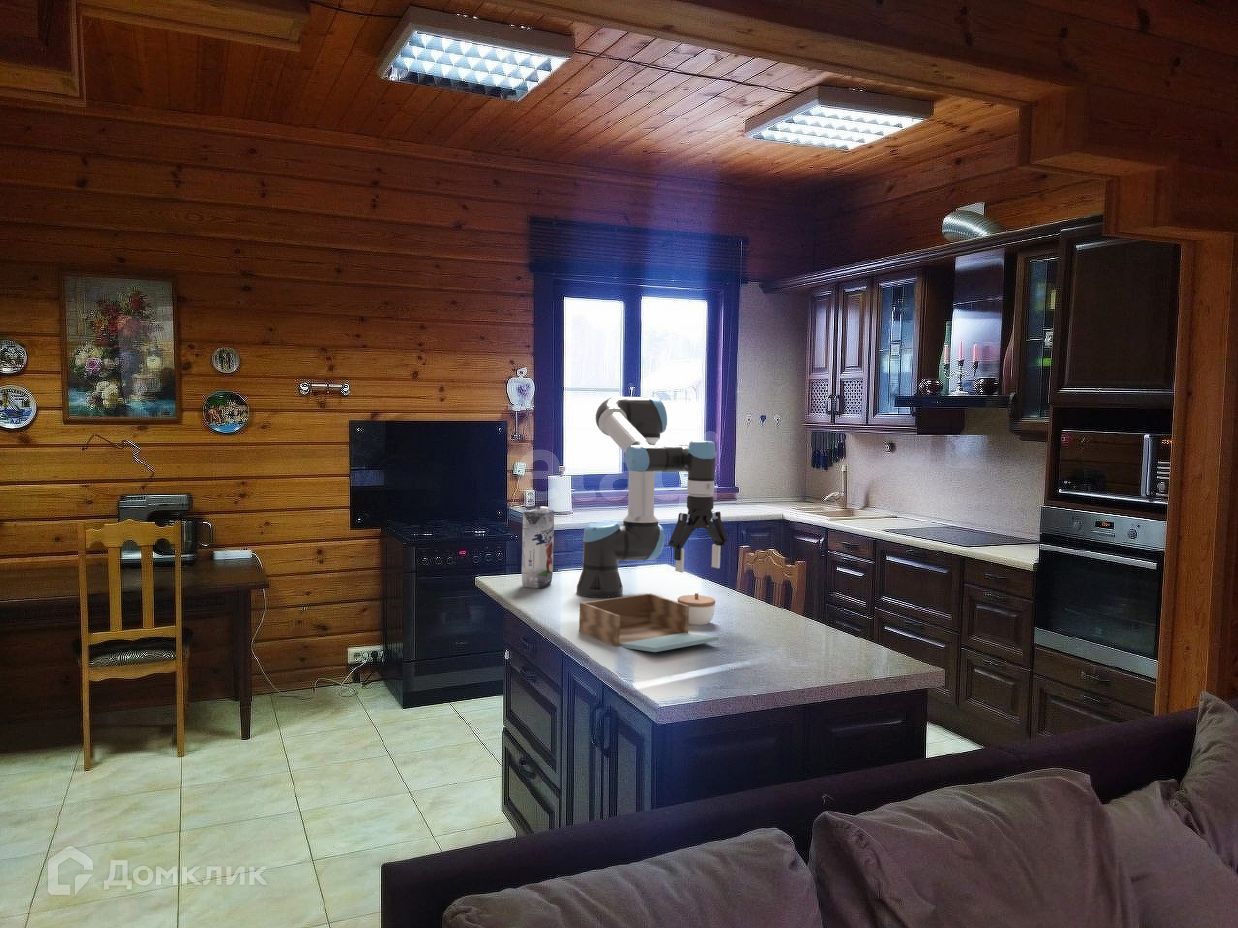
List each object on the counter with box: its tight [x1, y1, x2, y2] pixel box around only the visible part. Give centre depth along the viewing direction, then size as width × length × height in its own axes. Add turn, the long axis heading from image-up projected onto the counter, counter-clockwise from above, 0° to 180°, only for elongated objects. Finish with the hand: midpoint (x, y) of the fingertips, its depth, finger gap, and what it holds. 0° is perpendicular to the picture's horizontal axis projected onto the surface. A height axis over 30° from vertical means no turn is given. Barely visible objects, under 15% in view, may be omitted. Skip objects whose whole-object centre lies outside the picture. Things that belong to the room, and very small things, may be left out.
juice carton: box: [521, 506, 555, 589], centre depth 303 cm, size 9×10×27 cm
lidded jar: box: [677, 592, 716, 626], centre depth 256 cm, size 11×11×9 cm
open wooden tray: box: [578, 593, 689, 647], centre depth 242 cm, size 17×24×9 cm
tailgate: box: [619, 632, 720, 653], centre depth 230 cm, size 1×21×15 cm
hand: (697, 569), depth 255 cm, fingers open, 13 cm apart
